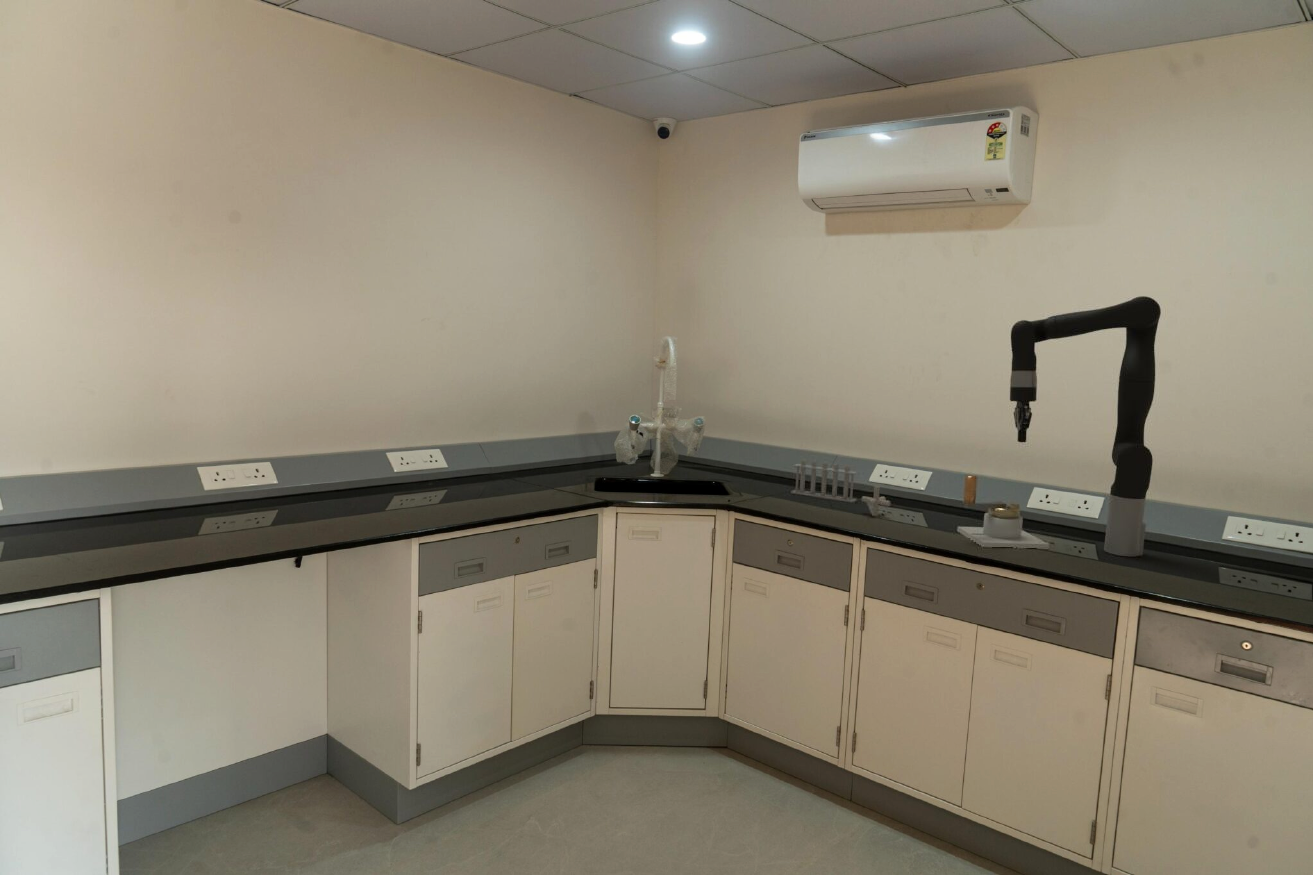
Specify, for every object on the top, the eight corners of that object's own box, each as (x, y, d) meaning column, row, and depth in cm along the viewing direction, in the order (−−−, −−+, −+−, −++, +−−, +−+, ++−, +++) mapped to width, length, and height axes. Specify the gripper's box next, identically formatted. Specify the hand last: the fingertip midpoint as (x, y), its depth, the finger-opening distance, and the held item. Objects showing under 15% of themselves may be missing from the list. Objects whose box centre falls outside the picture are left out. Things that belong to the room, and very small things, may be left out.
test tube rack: (856, 501, 317) (859, 466, 315) (852, 502, 313) (854, 467, 311) (795, 491, 331) (797, 458, 329) (790, 493, 327) (792, 459, 326)
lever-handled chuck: (1008, 511, 268) (1011, 473, 267) (1025, 518, 259) (1029, 479, 258) (955, 512, 265) (958, 473, 263) (970, 518, 256) (974, 478, 254)
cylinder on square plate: (1018, 532, 274) (1020, 510, 273) (1048, 549, 254) (1051, 524, 253) (957, 531, 274) (959, 508, 273) (982, 547, 254) (984, 522, 253)
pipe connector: (895, 515, 293) (897, 487, 292) (881, 519, 286) (883, 490, 284) (869, 510, 300) (871, 482, 298) (854, 514, 292) (856, 486, 291)
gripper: (1042, 385, 255) (1040, 443, 256) (1030, 386, 268) (1029, 441, 269) (1015, 385, 256) (1014, 443, 257) (1005, 386, 269) (1004, 440, 270)
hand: (1021, 442), depth 263 cm, fingers closed
